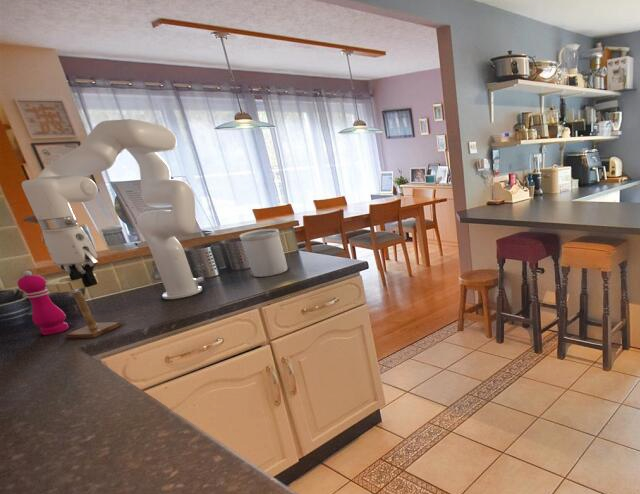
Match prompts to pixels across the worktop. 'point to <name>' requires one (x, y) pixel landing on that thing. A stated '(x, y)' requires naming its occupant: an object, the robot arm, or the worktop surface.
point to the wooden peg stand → (89, 321)
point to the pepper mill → (42, 305)
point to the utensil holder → (264, 252)
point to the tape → (65, 284)
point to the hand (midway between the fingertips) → (86, 285)
